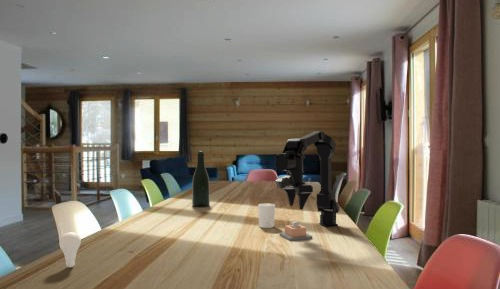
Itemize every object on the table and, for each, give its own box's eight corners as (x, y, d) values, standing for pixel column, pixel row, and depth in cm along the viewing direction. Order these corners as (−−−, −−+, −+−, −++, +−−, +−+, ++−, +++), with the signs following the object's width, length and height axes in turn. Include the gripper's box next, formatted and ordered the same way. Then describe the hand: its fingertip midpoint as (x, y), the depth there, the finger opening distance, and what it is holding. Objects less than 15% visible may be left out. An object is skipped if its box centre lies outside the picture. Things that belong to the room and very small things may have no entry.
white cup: (273, 228, 177) (273, 206, 177) (256, 228, 179) (256, 205, 179) (276, 225, 185) (276, 203, 185) (259, 224, 186) (259, 203, 186)
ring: (299, 232, 166) (299, 224, 166) (306, 235, 160) (306, 227, 160) (285, 233, 164) (285, 225, 164) (291, 236, 158) (291, 228, 158)
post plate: (301, 233, 169) (301, 219, 169) (312, 238, 159) (312, 223, 159) (279, 235, 165) (279, 220, 165) (289, 240, 156) (289, 225, 156)
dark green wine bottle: (213, 205, 241) (212, 150, 241) (202, 207, 233) (202, 151, 232) (199, 203, 247) (199, 150, 247) (188, 206, 238) (188, 151, 238)
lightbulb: (64, 264, 127) (63, 230, 127) (83, 264, 128) (83, 229, 128) (56, 270, 121) (56, 234, 121) (77, 270, 122) (76, 234, 122)
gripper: (269, 168, 169) (269, 205, 169) (287, 171, 151) (287, 212, 151) (292, 167, 172) (293, 203, 173) (313, 170, 155) (313, 210, 155)
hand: (296, 207), depth 163 cm, fingers open, 9 cm apart
